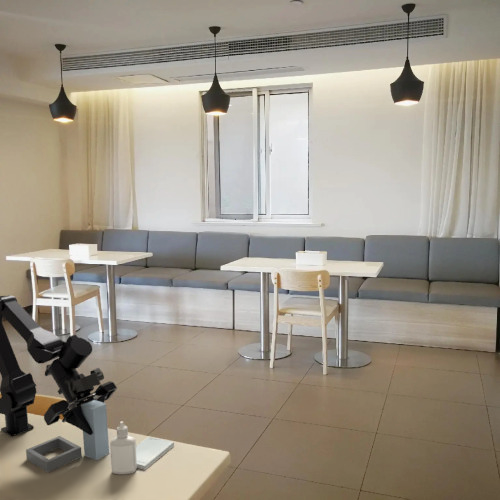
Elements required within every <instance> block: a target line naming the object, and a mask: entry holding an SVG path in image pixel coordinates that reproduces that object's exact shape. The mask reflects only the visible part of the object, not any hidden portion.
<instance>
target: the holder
mask: <svg viewBox="0 0 500 500" xmlns="http://www.w3.org/2000/svg"><path fill="white" fill-rule="evenodd" d="M56 449H60V450H62V451H64V452H62V453H60V454H58V455H55V456H53V457H51V458H47V457H46V456H44V455H45V454H47V453H49V452H52V451H55V450H56ZM25 453H26V460H27V461H29V462H30V463H32V464H34V465H35V466H37V467H38V468H40V469H42V470H43V471H45V472H46V473H50V472H52V471H55V470H56V469H59V468H61V467H63V466H65V465H67V464H69V463H71V462H74V461H76V460H78V459H80V458H82V457H83V455H82V454H83V453H82V446H79V445H78V444H75V443H74V442H72V441H70V440H69V439H66V438H65V437H63V436H61V435H58V436H55V437H53V438H51V439H49V440H48V439H47V440H46V441H43V442H42V443H38V444H37V445H34V446H31V447H29V448H26V449H25Z"/></svg>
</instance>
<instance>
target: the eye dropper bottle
mask: <svg viewBox="0 0 500 500" xmlns="http://www.w3.org/2000/svg"><path fill="white" fill-rule="evenodd" d="M124 423H125V422H124V421H123V420H122V421H120V422H119V426H117V427H116V436H115V437H113V438H112V439H111V441H110V442H109V443H110V445H109V450H110V461H111V463H110V464H111V473H113V474H115V475H130V474H134V473H135V472H136V471H137V469H138V468H137V459H136V446H137V445H136V439H135V437H133V436H131V435H129V432H128V426H127V425H125V424H124Z"/></svg>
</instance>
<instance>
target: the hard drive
mask: <svg viewBox="0 0 500 500" xmlns="http://www.w3.org/2000/svg"><path fill="white" fill-rule="evenodd" d="M166 440H167V439H161V438H157V437H153V436H147V437H146V438H145V439H143V440H141V442H139V443H138V444H137V445H136V459H137V469H141V470H144V471H145V470H148V469H149V467H151V466H152V465H153V464H154V463H155V462H157V461H158V460H160V458H161V457H162V456H164V455H165V454H166V453H168V452H169V451H170V450H171V449H172V448H173V447H175V442H174V441H171V440H167V441H166Z"/></svg>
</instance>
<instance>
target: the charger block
mask: <svg viewBox="0 0 500 500" xmlns="http://www.w3.org/2000/svg"><path fill="white" fill-rule="evenodd" d="M81 409H82V414H83V415H84V417H85V419H86V420H87V422H88V424H89V425H90V427H91V429H92V431H93V434H92V435H89V434H87V433H86V432H84V431H82V436H83V437H82V438H83V452H84V454H83V455H84V456H85V457H87V458H89V459H92V460H94V461H97V460H100V459H101V458H103V457H105V456H107V455H108V454H110V445H109V443H110V442H109V441H110V440H109V429H108V426H109V425H108V412H107V403H105V402H104V403H103V402H100V401H97V400H93V401H90V402H88V403H86V404H83V405H81Z"/></svg>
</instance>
